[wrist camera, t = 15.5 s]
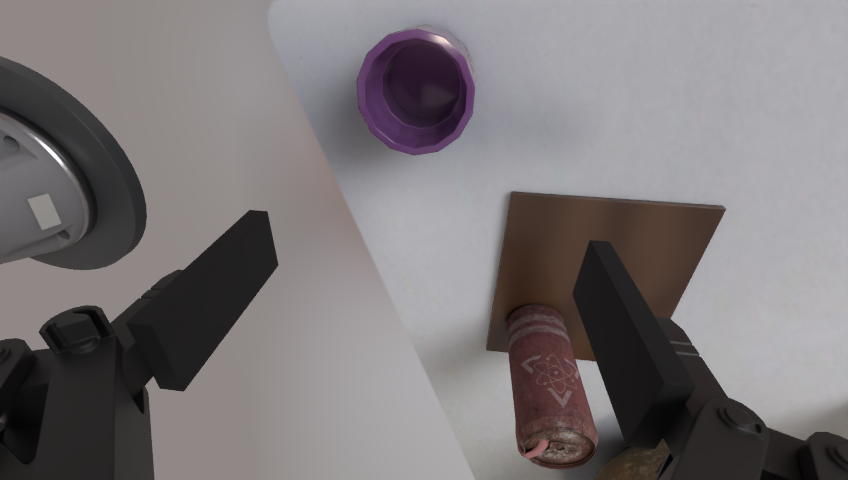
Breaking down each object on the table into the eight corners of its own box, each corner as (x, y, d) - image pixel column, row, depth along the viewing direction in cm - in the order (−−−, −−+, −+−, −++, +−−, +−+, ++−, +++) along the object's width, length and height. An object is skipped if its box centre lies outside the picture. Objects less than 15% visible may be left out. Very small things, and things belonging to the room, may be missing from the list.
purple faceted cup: (381, 125, 32) (361, 152, 26) (378, 22, 28) (352, 26, 22) (468, 130, 31) (468, 158, 25) (478, 26, 27) (480, 30, 21)
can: (492, 317, 41) (501, 443, 29) (545, 292, 38) (578, 419, 26) (522, 350, 43) (541, 480, 31) (573, 329, 40) (615, 461, 29)
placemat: (486, 346, 44) (486, 350, 44) (511, 191, 34) (512, 194, 33) (644, 362, 43) (646, 366, 42) (722, 205, 32) (726, 208, 32)
